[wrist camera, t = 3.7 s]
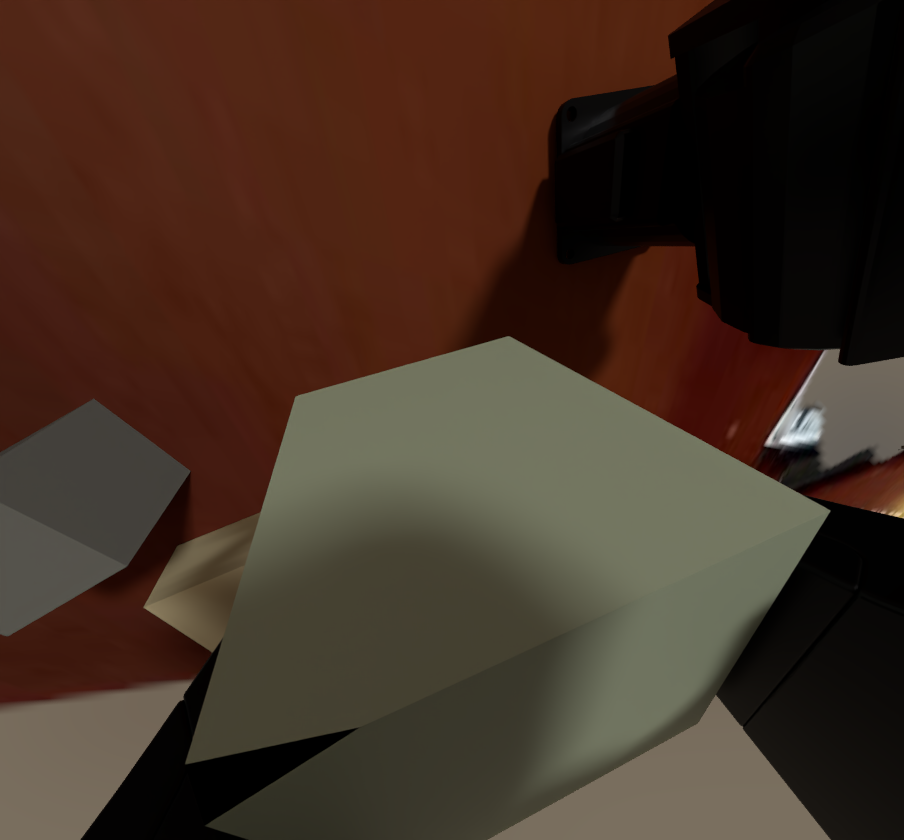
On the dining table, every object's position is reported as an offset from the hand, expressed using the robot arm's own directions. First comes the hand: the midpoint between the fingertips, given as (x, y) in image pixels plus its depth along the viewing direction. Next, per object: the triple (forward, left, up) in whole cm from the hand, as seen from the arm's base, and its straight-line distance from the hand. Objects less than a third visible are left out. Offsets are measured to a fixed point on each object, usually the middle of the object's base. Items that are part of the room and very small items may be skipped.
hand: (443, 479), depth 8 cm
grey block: (+15, +2, -11) cm, 19 cm away
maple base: (+11, +11, -12) cm, 19 cm away
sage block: (0, 0, -1) cm, 1 cm away
